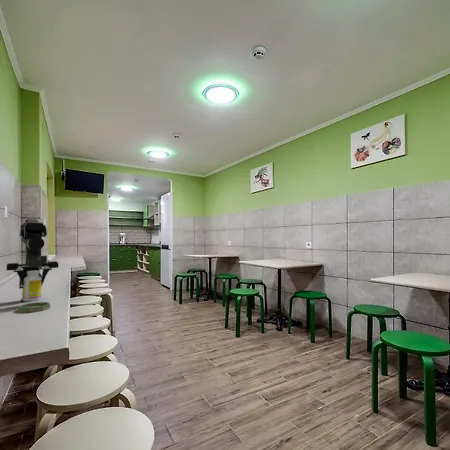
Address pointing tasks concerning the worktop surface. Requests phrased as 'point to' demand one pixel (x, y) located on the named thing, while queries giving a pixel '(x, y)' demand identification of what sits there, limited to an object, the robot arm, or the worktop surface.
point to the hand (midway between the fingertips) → (32, 285)
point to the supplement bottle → (32, 286)
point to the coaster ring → (34, 307)
